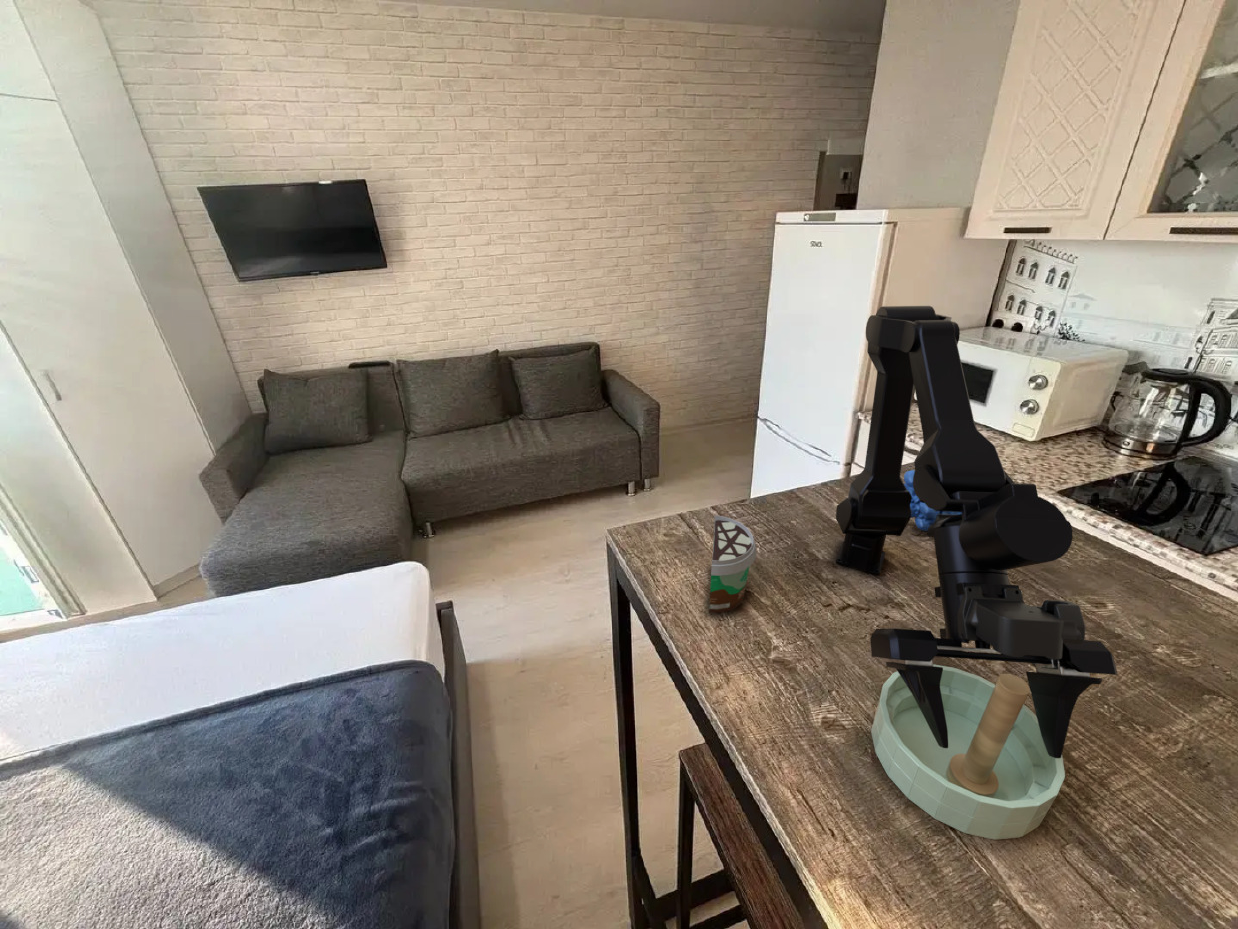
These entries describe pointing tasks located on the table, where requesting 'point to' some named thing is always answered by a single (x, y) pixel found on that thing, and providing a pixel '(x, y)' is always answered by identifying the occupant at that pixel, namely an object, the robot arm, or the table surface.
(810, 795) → the table surface
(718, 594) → the food container
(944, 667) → the bowl
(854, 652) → the table surface
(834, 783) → the table surface
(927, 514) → the grapes
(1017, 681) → the pestle
